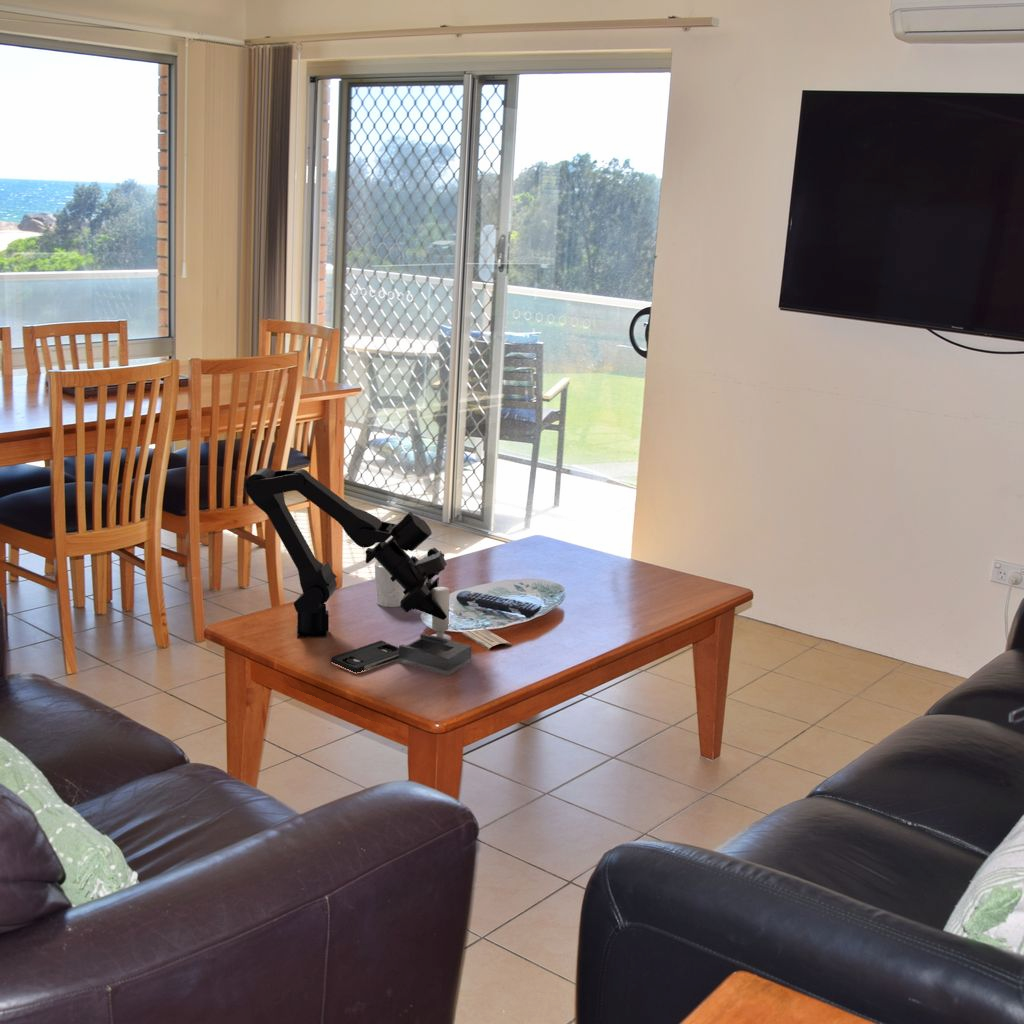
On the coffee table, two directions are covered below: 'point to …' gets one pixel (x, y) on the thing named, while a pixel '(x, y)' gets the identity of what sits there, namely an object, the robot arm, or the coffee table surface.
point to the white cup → (387, 588)
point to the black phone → (367, 656)
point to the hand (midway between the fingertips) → (446, 615)
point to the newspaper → (485, 638)
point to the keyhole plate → (435, 654)
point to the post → (443, 600)
